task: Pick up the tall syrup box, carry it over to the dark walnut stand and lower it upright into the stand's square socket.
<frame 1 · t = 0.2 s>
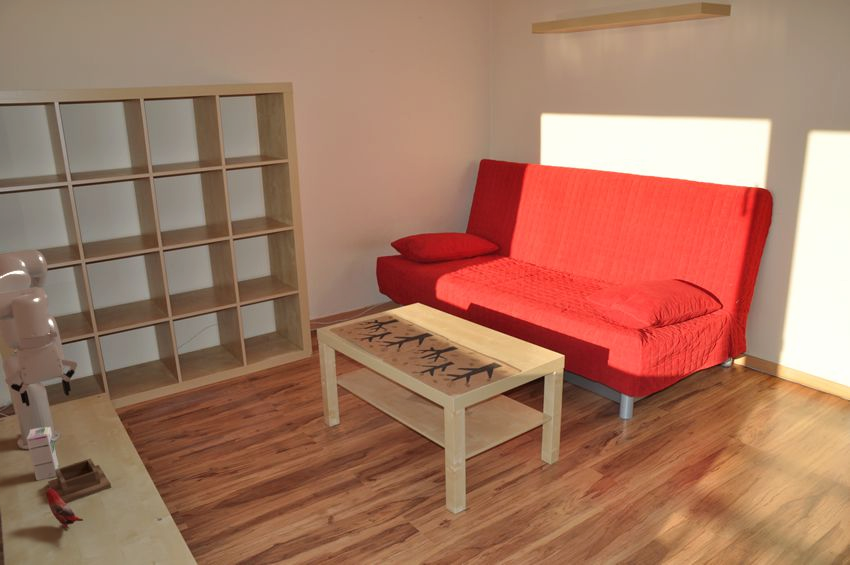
hand: (47, 399, 186), 31 cm above the table, tool pointing down, fingers open, 9 cm apart
syrup box: (48, 474, 207), on the table
decorative bird figurine: (69, 530, 179), on the table
stand: (79, 486, 199), on the table
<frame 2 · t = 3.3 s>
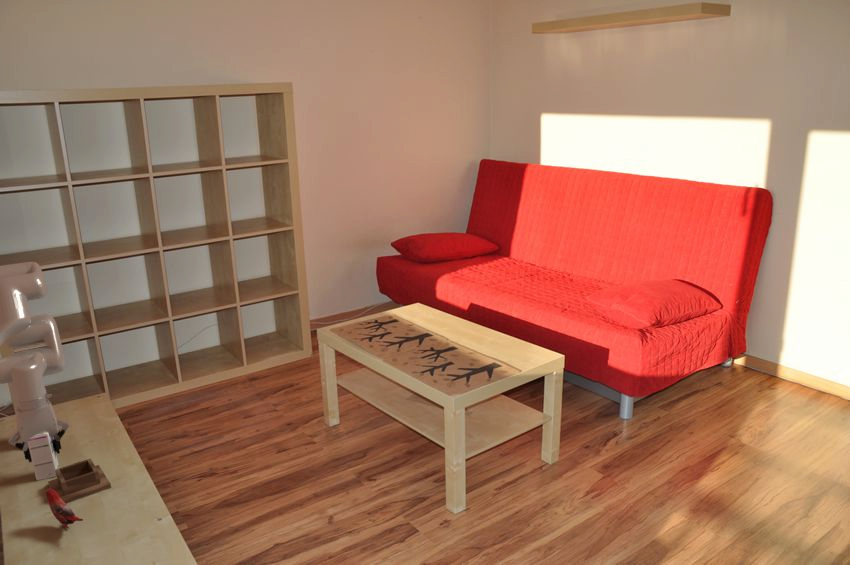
hand: (43, 455, 205), 6 cm above the table, tool pointing down, fingers closed on syrup box, 6 cm apart
syrup box: (48, 474, 207), on the table, touching gripper
everything else where it was.
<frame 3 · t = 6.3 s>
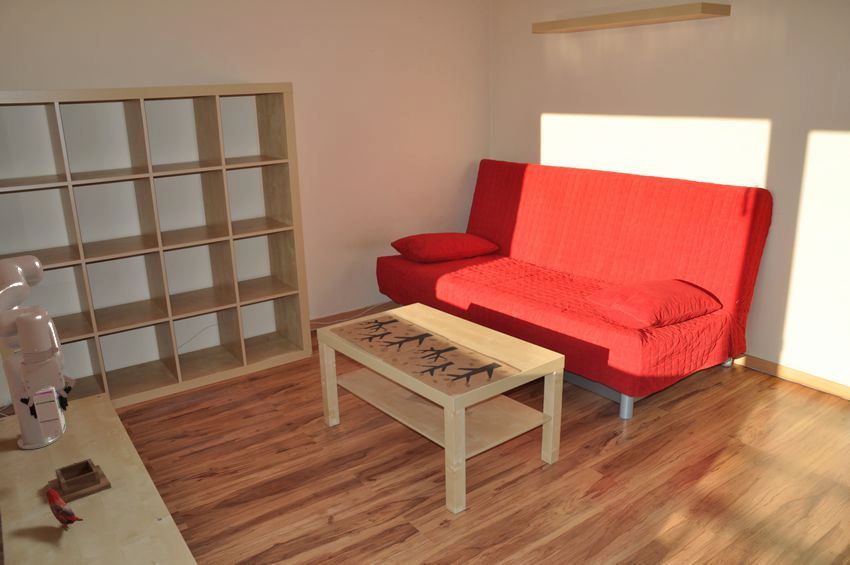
hand: (50, 412, 197), 22 cm above the table, tool pointing down, fingers closed on syrup box, 6 cm apart
syrup box: (54, 433, 198), point 16 cm above the table, touching gripper
everything else where it was.
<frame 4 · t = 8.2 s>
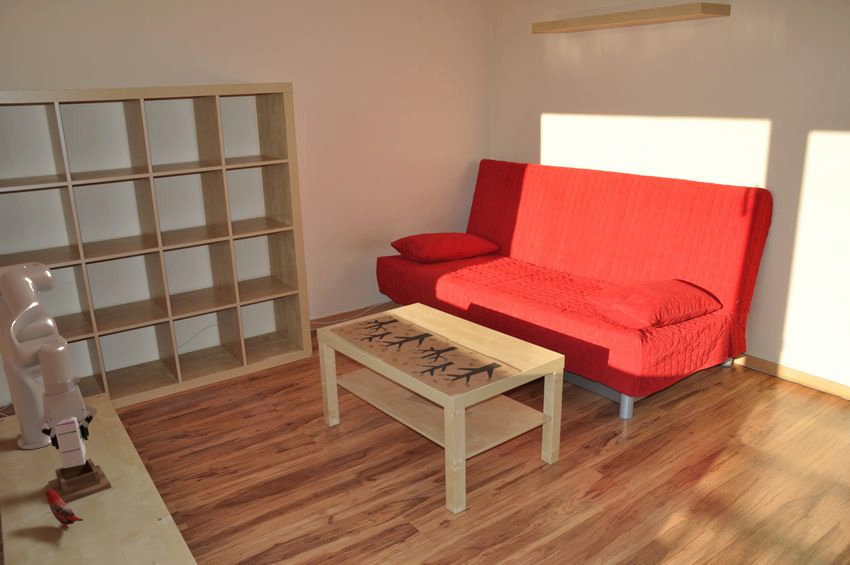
hand: (71, 442, 195), 14 cm above the table, tool pointing down, fingers closed on syrup box, 6 cm apart
syrup box: (75, 462, 197), point 8 cm above the table, touching gripper
everything else where it was.
when the fingers open (9 cm above the table, at t = 9.7 s): syrup box drops 2 cm, resting on stand.
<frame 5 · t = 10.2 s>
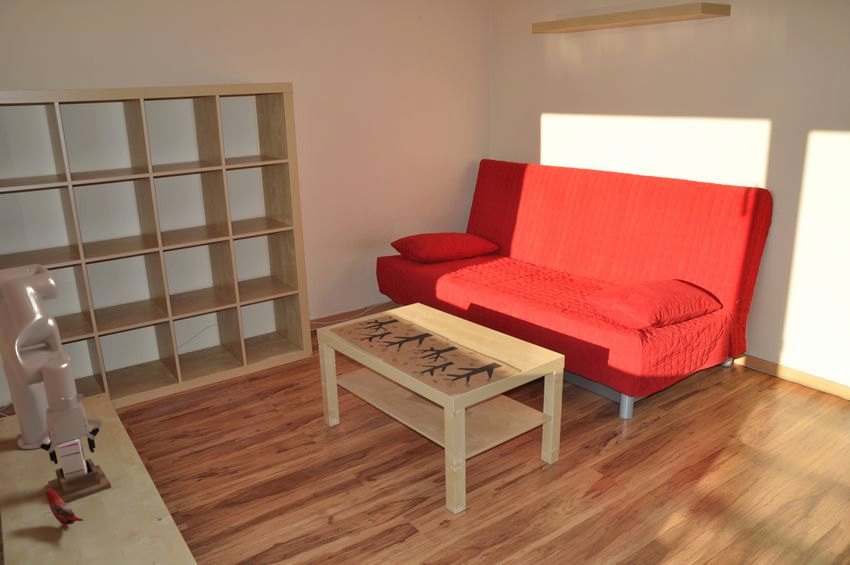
hand: (73, 456, 197), 10 cm above the table, tool pointing down, fingers open, 9 cm apart
syrup box: (77, 483, 199), point 1 cm above the table, touching stand
everything else where it was.
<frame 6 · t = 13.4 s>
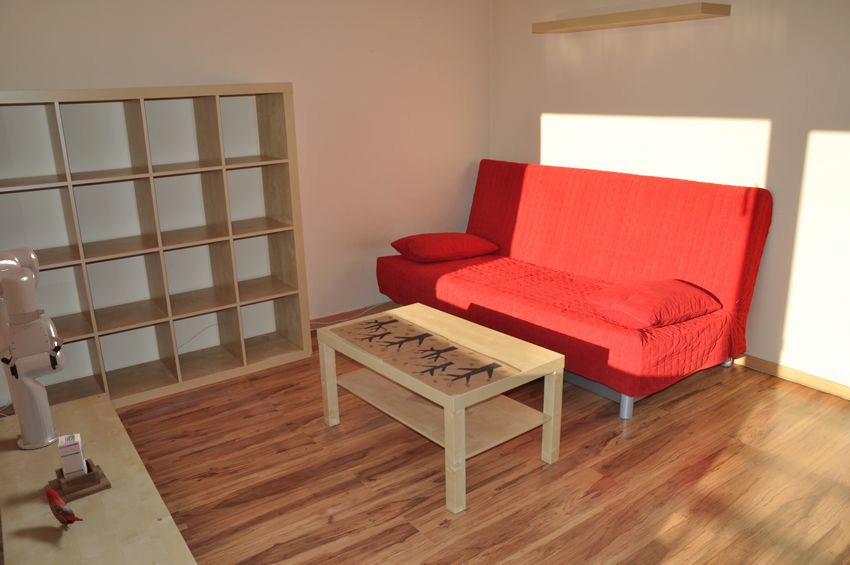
hand: (35, 372, 197), 33 cm above the table, tool pointing down, fingers open, 9 cm apart
nothing on the table moved.
at the end: syrup box 0.4 cm off-centre on the stand, point 1.0 cm above the stand's base; syrup box tilted 0°; the gripper is holding nothing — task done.
